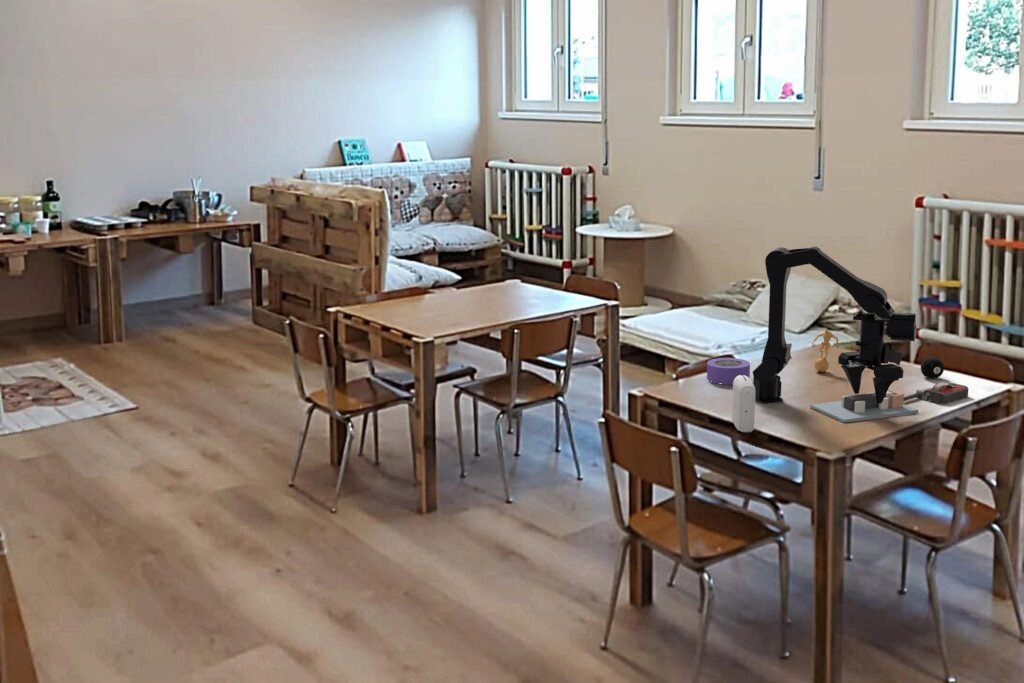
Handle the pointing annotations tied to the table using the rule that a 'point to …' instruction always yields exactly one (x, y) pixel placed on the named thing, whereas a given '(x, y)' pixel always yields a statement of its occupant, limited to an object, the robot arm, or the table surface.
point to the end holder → (896, 399)
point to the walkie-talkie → (941, 393)
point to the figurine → (822, 363)
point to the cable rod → (869, 400)
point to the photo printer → (743, 404)
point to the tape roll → (727, 369)
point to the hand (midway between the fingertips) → (868, 398)
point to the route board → (861, 410)
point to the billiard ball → (932, 367)
